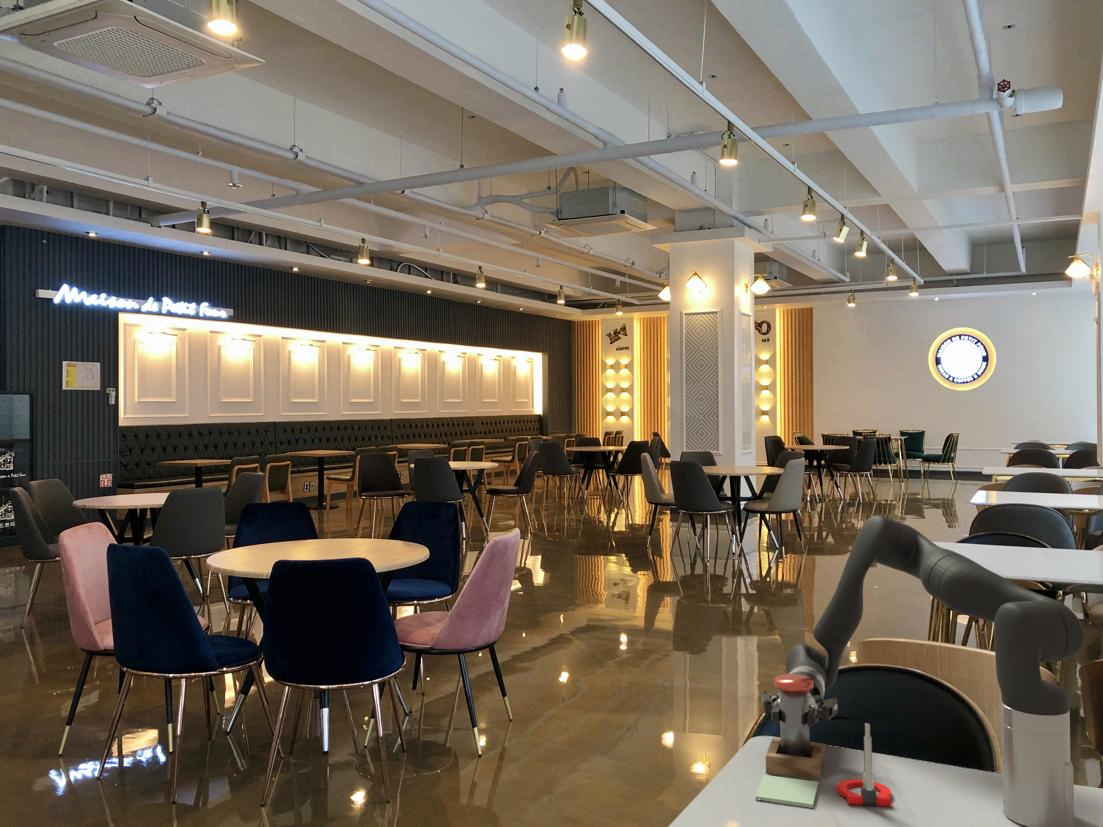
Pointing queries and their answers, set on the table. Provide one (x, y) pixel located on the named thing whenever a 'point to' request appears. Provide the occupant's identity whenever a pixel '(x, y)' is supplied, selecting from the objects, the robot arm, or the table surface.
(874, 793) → the tow hook
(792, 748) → the steel peg
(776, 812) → the table surface
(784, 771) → the brown square frame
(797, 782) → the sage mat
